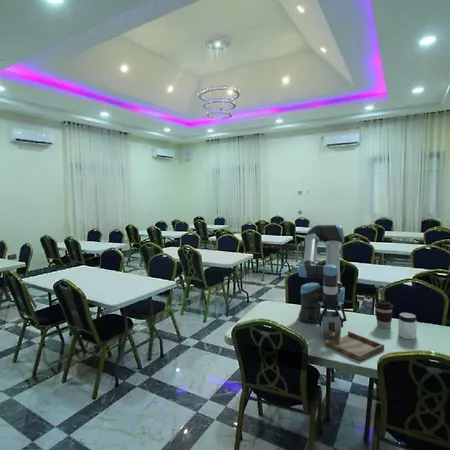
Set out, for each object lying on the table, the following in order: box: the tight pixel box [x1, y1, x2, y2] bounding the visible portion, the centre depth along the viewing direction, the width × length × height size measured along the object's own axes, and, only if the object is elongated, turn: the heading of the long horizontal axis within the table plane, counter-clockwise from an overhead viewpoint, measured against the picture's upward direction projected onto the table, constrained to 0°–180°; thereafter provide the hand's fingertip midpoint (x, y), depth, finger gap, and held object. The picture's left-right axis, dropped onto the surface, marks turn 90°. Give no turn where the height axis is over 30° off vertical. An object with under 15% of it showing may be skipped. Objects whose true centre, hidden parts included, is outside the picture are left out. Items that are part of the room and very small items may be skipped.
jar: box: [397, 312, 418, 340], centre depth 178 cm, size 9×8×12 cm
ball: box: [328, 328, 333, 338], centre depth 181 cm, size 5×5×5 cm
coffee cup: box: [374, 300, 394, 330], centre depth 191 cm, size 10×10×15 cm
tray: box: [324, 330, 385, 362], centre depth 168 cm, size 21×20×2 cm
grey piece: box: [321, 310, 341, 340], centre depth 179 cm, size 9×9×12 cm
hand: (330, 332), depth 180 cm, fingers closed on grey piece, 9 cm apart
